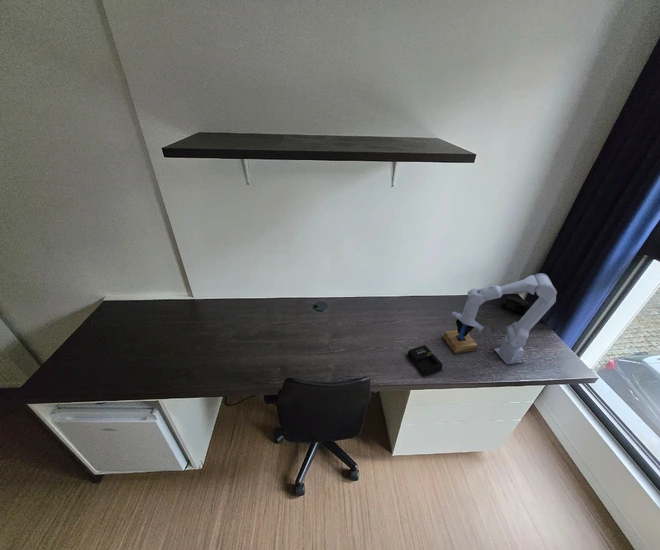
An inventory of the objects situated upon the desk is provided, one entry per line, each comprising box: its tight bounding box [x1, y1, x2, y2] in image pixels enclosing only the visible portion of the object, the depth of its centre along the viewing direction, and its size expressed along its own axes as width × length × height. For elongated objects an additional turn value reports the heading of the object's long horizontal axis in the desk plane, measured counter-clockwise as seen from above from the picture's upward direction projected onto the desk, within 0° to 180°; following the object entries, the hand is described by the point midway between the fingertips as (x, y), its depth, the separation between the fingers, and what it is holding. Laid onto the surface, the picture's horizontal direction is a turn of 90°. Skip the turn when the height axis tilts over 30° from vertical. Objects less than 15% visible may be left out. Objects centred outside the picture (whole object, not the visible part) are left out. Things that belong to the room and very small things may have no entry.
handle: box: [458, 323, 468, 340], centre depth 141 cm, size 3×3×9 cm
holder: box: [442, 329, 478, 354], centre depth 145 cm, size 11×11×4 cm
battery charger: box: [407, 344, 444, 377], centre depth 134 cm, size 13×10×4 cm
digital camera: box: [503, 295, 530, 315], centre depth 168 cm, size 10×5×7 cm, turn 55°
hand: (462, 333), depth 142 cm, fingers closed on handle, 3 cm apart
